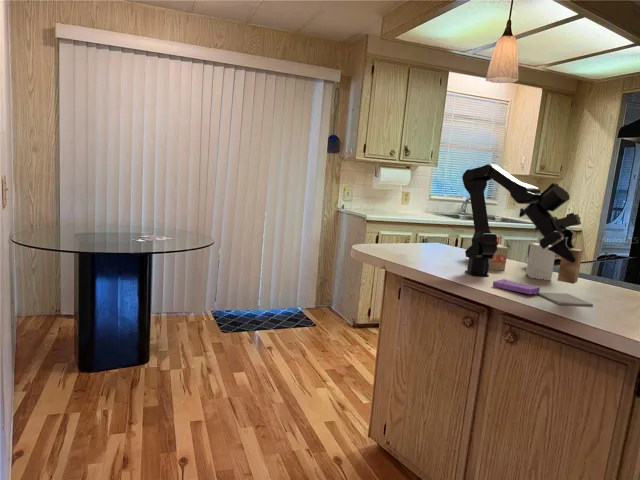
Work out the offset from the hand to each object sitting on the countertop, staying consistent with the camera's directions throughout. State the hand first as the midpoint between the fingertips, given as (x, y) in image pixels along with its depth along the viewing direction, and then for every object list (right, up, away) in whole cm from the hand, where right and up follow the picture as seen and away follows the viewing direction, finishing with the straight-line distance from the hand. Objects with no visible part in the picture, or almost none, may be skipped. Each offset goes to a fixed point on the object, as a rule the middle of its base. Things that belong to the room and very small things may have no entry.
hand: (575, 260), depth 134 cm
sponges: (-14, -10, +10) cm, 20 cm away
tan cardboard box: (-7, -4, +52) cm, 53 cm away
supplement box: (+5, -8, +34) cm, 35 cm away
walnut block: (-2, -6, +2) cm, 7 cm away
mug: (+12, -6, +51) cm, 52 cm away
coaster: (-2, -12, +3) cm, 13 cm away
